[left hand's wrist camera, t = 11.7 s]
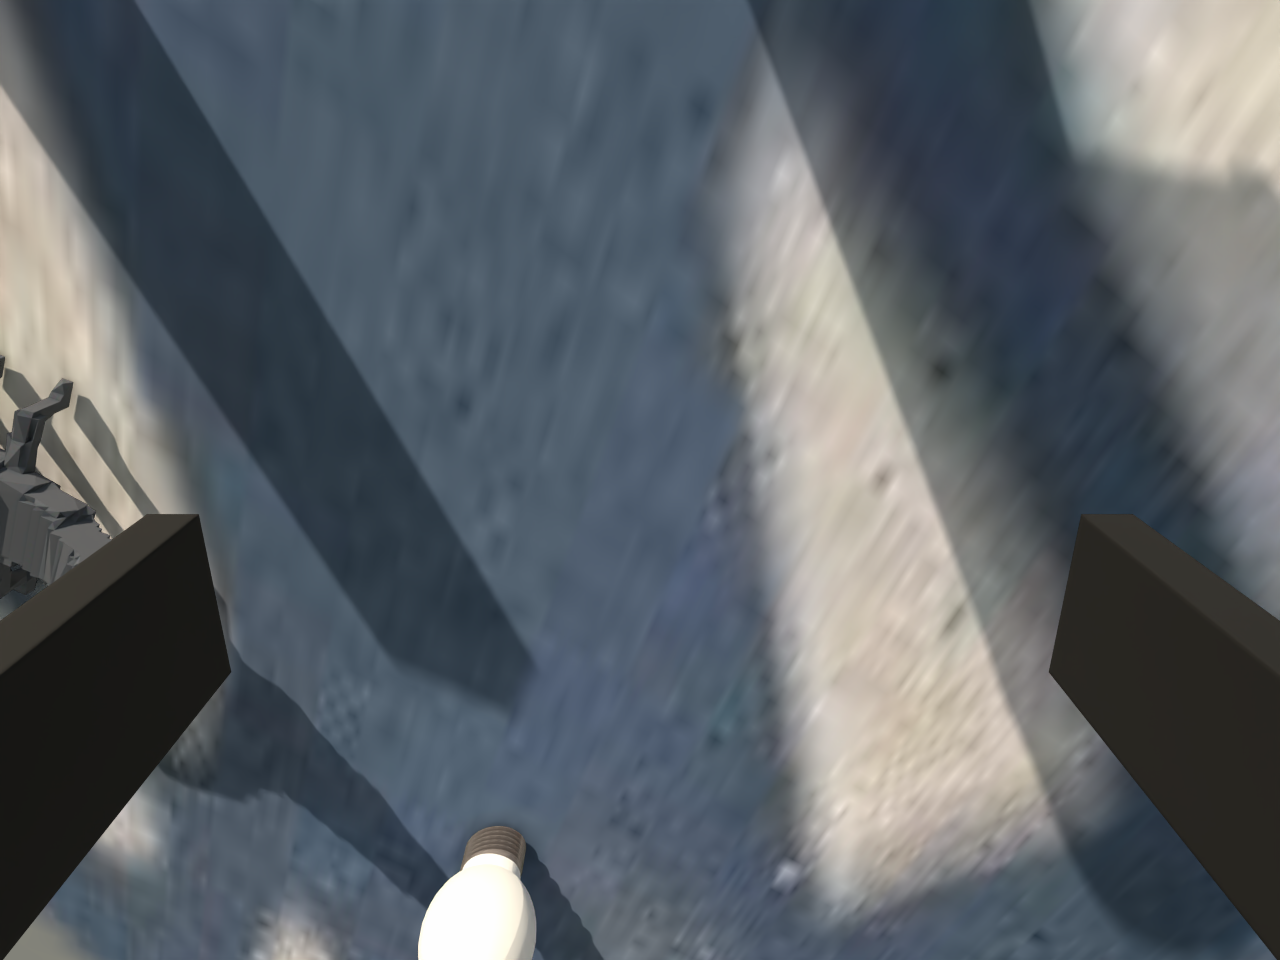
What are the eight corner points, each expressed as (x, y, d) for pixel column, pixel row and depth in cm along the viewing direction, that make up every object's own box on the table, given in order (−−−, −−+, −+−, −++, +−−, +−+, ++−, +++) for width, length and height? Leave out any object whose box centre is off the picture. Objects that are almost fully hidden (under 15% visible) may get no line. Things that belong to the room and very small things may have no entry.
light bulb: (501, 792, 54) (469, 941, 44) (568, 856, 56) (552, 1014, 46) (424, 842, 55) (375, 997, 45) (491, 903, 57) (459, 1066, 47)
